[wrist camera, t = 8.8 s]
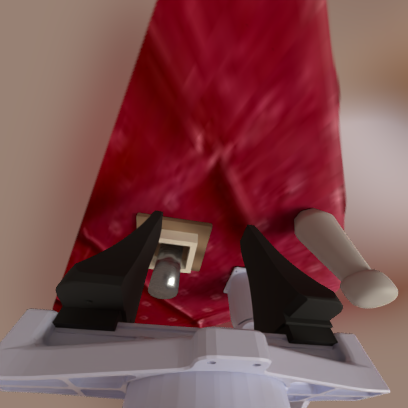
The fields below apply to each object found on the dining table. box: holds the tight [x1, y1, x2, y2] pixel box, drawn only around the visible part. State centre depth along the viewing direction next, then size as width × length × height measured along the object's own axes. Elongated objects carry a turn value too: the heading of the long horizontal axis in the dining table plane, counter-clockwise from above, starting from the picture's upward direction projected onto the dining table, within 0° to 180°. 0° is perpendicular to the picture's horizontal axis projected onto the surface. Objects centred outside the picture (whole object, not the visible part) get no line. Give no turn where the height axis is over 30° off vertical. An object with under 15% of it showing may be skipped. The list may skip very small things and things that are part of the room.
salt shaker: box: [294, 208, 398, 308], centre depth 21 cm, size 6×6×13 cm
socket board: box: [136, 213, 212, 273], centre depth 29 cm, size 12×12×3 cm
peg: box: [148, 243, 183, 299], centre depth 26 cm, size 4×4×8 cm
